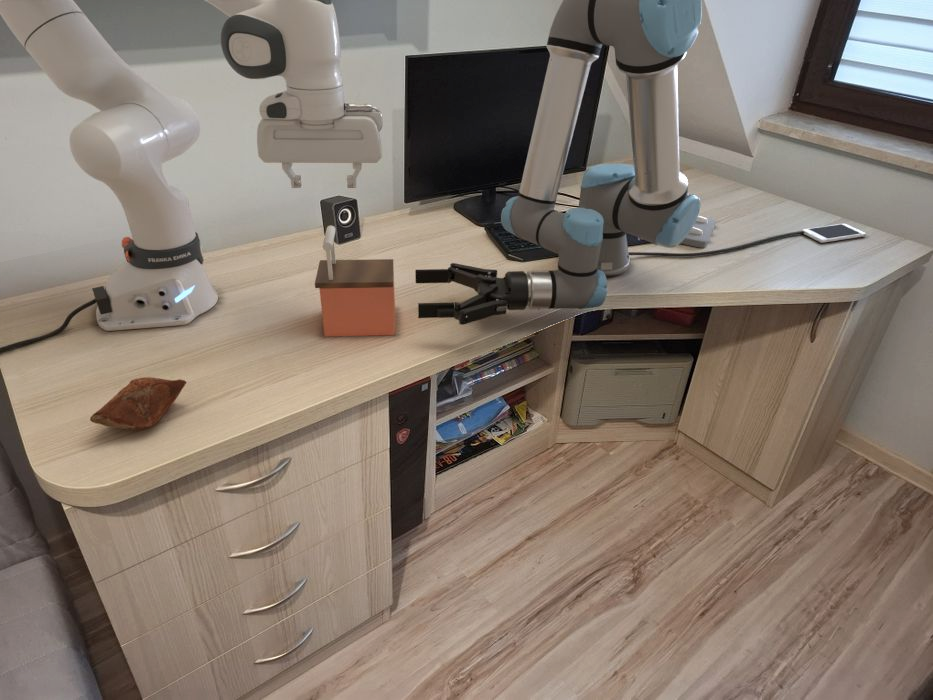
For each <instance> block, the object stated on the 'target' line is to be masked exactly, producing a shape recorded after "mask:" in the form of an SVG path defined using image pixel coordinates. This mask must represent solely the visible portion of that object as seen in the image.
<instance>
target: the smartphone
mask: <svg viewBox="0 0 933 700" xmlns="http://www.w3.org/2000/svg"><path fill="white" fill-rule="evenodd" d="M801 231H804V233H803V235H805V236H807V237H808V238H811V239H813V240H815V241H816V242H819V243H820V244H821V243H823V244H824V243H829V242H835V241H842V240H849V239H855V238H861V237H865V236H866V232H864V231H863V230H860V229H858V228H856V227H853V226H851V225H849V224H847V223H837V224H831V225H824V226H823V225H822V226H818V227H817V226H816V227H810V228H803V229H801Z"/></svg>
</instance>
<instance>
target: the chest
mask: <svg viewBox="0 0 933 700" xmlns="http://www.w3.org/2000/svg"><path fill="white" fill-rule="evenodd" d="M394 269H395V268H394V265H393V287H357V288H318V289H319V297H320V298H319V299H320V307H321V316H322V323H323V325H322V326H323V333H324V335H323V336H324V337H326V338H327V337H355V336H356V337H361V336H364V337H366V336H395V335H396V295H395V271H394Z"/></svg>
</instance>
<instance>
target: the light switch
mask: <svg viewBox="0 0 933 700" xmlns="http://www.w3.org/2000/svg"><path fill="white" fill-rule="evenodd" d="M715 225H716V219H715V218H712V217H707V216H702V215H698V217H697V220H696V222H695V224H694V226H693V227H692V229H691V231H690V232H689V234H688V235H687V236H686V238H685V239H684V240H683V241H682V242H681V243H680V244H681V245H685V246H691V247H695V248H699V249H700V248H702V249H704V248H706V247H707V246H708V243H709V240H710V238H711V237H712V233H713V230H714V229H715ZM680 244H679V245H680Z"/></svg>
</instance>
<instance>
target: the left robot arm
mask: <svg viewBox="0 0 933 700" xmlns="http://www.w3.org/2000/svg"><path fill="white" fill-rule="evenodd" d="M203 1H204V2H206V3H208V4H210V5H211V6H213V7H214V8H216V9H218V10H219V11H220V12H222V13H223V14H224V15H226V16H227V17H228V18H227V19H226V20H225V22H224V23H223V25H222V28H221V32H220V47H221V50H222V54H223V56H224V58H225V60H226V62H227V64H228V65H229V66H230V67H231V69H232V70H233V71H234V72H235V73H237V74H238V75H239V76H241V77H243V78H246V79H249V80H265V79H268V78H272V77H282V78H283V79H284V80H285V86H286V90H285V91H284V90H283V91H280V92H277V93H275V94H271V95H268V96H266V97H265V98H264V99H263V100H262V101H261V103H260V104H259V109H258V110H259V116H260V117H261V119H260V121H259V123H258V125H257V130H256V146H257V154H258V158H259V159H260V160H261V161H262V162H263V163H267V164H269V163H270V164H272V163H273V164H274V163H275V164H276V163H277V164H281V167H282V168H281V169H282V170H283V172H284V173H285V174H286V176H287V177H288V178H289V180H290V186H291V189H301V188H302V181H301V180H302V178H301V177H302V176H301V174H296V173H295V172H294V171H293V169H292V166H293V164H352V169H353V172H352V174H348V175H346V183H347V185H346V186H347V189H356V188H357V178H358V176H359V174H360V172H361V170H362V167H363V165H362V164H377V163H379V162H380V160H381V159H382V157H383V149H382V142H381V141H382V140H381V135H380V131H381V130H382V129H383V125H384V124H383V114H382V112H381V110H380V109H379V108H378V107H376V106H373V104H370V103H364V104H360V103H359V104H358V103H345V93H344V92H345V91H344V81H343V77H342V75H341V71H340V62H341V56H342V51H341V49H342V48H341V39H340V32H339V30H340V29H339V24H338V19H337V14H336V13H337V12H336V9H335V6H334V3H333V2H332V0H203ZM0 17H1V18H2V20H3V21H4V23H5V24H6V26H7V27H8V28H9V30H10V32H11V33H12V34H13V35H14V37H15V38H16V40H17V41H18V42H19V43H20V45H22V47H23V48H24V49H25V50H26V52H27V53H28V54H29V56H31V58H32V59H33V60H34V62H35V63H36V64H37V65H38V66H39V67H40V68H41V70H42V71H43V72H44V73H45V75H46V76H47V77H48V78H49V79H50V81H51V82H52V83H53V84H54V85H55V86H56V88H57V89H58V90H59V91H60V92H62V93H63V94H65V96H66V95H67V96H68V97H70V98H73V99H75V100H80V101H83V102H85V103H87V104H89V105H91V106H93V107H95V108H96V109H97V110H99V111H98V112H95V113H93V114H92V115H89V116H88V117H86V118H85V119H84V120H82V121H81V122H80V123H78V124H77V125H75V126H74V127H73V128H72V130H71V132H70V134H69V148H70V152H71V156H72V157H73V159H74V161H75V162H76V164H77V165H78V167H79V168H80V169H81V170H82V171H83V172H84V173H85V174H87V175H88V176H89V177H91V178H93V179H95V180H97V181H99V182H102V183H103V184H105V185H106V186H107V187H108V188H109V189H110V190H111V191H112V192H113V194H114V195H115V196H116V198H117V199H118V201H119V203H120V205H121V207H122V209H123V212H124V215H125V219H126V221H127V224H128V227H129V231H130V234H131V237H129V236H125V237H123V238H122V240H121V247H122V248H123V253H124V257H125V260H126V261H125V262H123V264H122V265H121V266H119V267H118V268H117V269H116V270H115V271H114V272H113V273H111V274H110V275H109V277H108V278H107V280H106V282H105V286H104V285H102V286H96V287H92V288H91V291H92V293H93V297H94V298H93V299H91V300H90V301H87V302H86V303H84V304H82V305H80V306H78V307H76V308H75V309H73V310H72V311H71V312H70V313H69V314H68V315H67V316H66V318H65V320H64V322H63V324H62V325H60V326H59V327H57V329H55V330H53V331H51V332H49V333H46V334H44V335H41V336H38V337H33V338H28V339H25V340H20V341H18V342H14V343H11V344H7V345H5V346H1V347H0V353H3V352H5V351H8V350H11V349H15V348H19V347H23V346H27V345H29V344H34V343H38V342H41V341H43V340H46V339H50V338H52V337H54V336H56V335H58V334H60V333H62V332H63V331H65V329H66V328H67V327H68V326H69V324H70V322H71V320H72V319H73V318H74V317H75V316H76V315H78V314H79V313H80V312H82V311H84V310H85V309H87V308H89V307H92V306H93V305H95V304H96V305H97V307H96V309H95V317H96V322H97V324H98V326H99V327H100V328H101V329H102V330H103V331H106V332H111V331H112V332H113V331H125V330H137V329H139V330H140V329H151V328H164V327H174V326H184V325H188V324H190V323H191V322H192V321H194V319H195V318H197V317H198V316H200V315H202V314H204V313H206V312H208V311H209V310H211V309H212V308H213V307H214V306H215V305H216V304H217V303H218V300H219V295H218V292H217V291H216V290H215V288H214V286H213V284H212V282H211V280H210V278H209V274H208V272H207V270H206V267H205V264H204V258H205V257H204V256H205V255H204V251H203V246H202V241H201V239H200V237H199V234H198V232H197V231H196V230H195V229H196V228H195V225H194V224H195V223H194V219H193V216H192V211H191V207H190V201H189V199H188V196H187V195H186V194H185V193H184V192H183V191H182V190H180V189H179V188H177V187H175V186H173V185H169V183H168V181H167V180H166V177H165V175H164V173H163V168H162V167H163V164H164V163H166V162H168V161H171V160H173V159H175V158H177V157H180V156H182V155H183V154H184V153H186V152H187V151H188V150H190V148H191V147H192V146H193V145H194V144H195V143H196V142H197V141H198V139H199V137H200V133H201V125H200V121H199V120H200V119H199V117H198V115H197V113H196V112H195V110H194V108H193V107H192V106H191V104H190V103H188V101H186V100H185V99H183V98H182V97H180V96H178V95H174V94H172V93H170V92H169V93H168V92H166V91H165V90H163V89H161V88H159V87H158V86H157V85H155V84H153V83H152V82H151V81H149V80H148V79H146V78H145V77H144V76H143V75H141V74H140V73H138V72H137V71H136V70H135V69H134V68H132V67H131V66H130V65H129V63H127V62H126V61H125V60H123V58H121V56H119V54H118V53H117V52H116V51H115V50H114V49H113V48H112V46H111V45H110V44H109V43H108V42H107V40H106V39H105V38H104V36H102V34H101V33H100V32H99V30H98V29H97V28H96V27H95V25H93V23H92V22H91V21H90V19H89V18H88V17H87V15H86V14H85V13H84V11H83V10H82V9H81V8H80V6H79V5H78V4H77V3H76V2H75V1H74V0H0Z"/></svg>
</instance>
